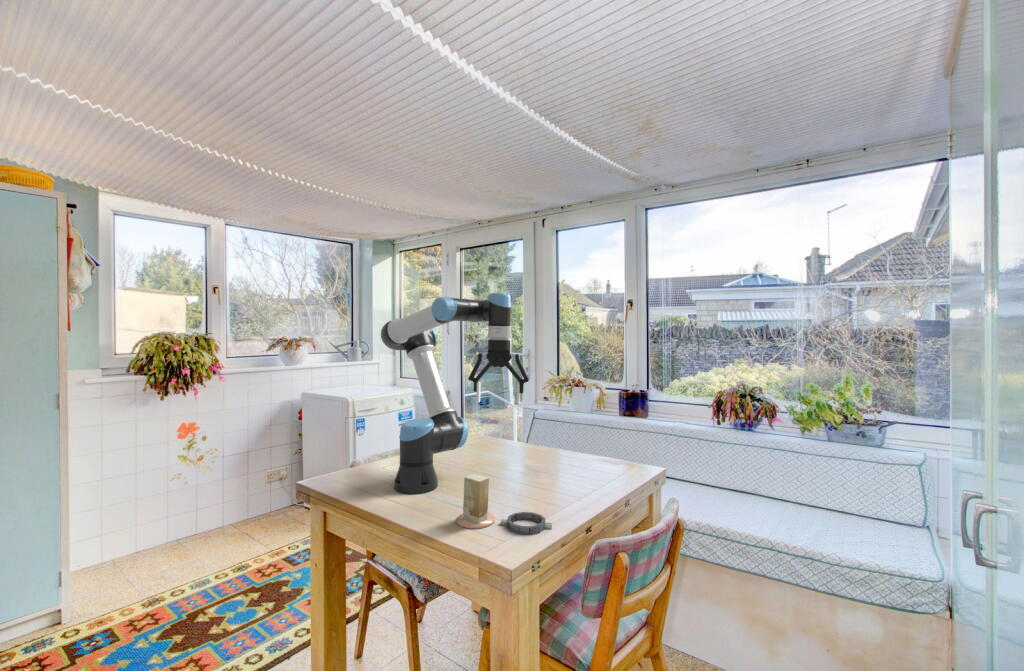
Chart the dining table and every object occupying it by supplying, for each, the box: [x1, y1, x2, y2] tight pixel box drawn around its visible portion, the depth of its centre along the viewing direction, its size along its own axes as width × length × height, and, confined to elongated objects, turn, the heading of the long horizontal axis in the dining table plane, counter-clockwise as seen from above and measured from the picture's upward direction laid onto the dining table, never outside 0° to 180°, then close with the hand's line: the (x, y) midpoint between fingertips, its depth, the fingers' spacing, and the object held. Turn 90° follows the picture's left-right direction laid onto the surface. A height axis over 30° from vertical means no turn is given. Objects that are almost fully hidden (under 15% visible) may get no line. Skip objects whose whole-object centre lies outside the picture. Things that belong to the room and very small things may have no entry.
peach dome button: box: [456, 512, 495, 530], centre depth 132 cm, size 11×11×1 cm
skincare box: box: [462, 473, 490, 523], centre depth 132 cm, size 6×4×12 cm
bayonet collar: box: [500, 511, 553, 535], centre depth 129 cm, size 15×11×2 cm
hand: (498, 402), depth 151 cm, fingers open, 13 cm apart
